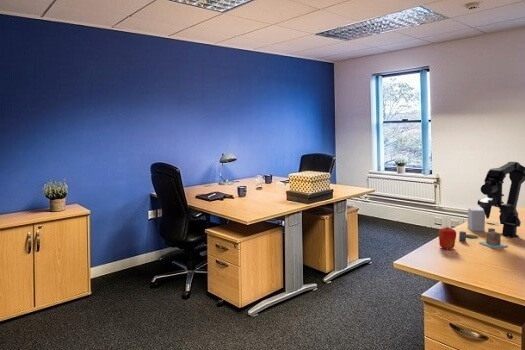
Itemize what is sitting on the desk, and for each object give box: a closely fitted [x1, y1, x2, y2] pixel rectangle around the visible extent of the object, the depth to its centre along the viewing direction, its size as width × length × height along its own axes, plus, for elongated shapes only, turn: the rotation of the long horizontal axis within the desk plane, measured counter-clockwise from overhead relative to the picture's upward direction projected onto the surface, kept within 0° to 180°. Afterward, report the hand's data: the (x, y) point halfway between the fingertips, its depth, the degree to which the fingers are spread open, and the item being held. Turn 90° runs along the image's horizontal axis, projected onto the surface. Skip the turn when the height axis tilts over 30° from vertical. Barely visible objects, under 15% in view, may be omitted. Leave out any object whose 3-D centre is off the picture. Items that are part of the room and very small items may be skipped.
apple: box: [437, 226, 457, 250], centre depth 195 cm, size 9×8×12 cm
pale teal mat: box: [478, 241, 508, 249], centre depth 198 cm, size 9×9×1 cm
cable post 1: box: [458, 230, 467, 243], centre depth 207 cm, size 3×3×5 cm
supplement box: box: [467, 207, 486, 232], centre depth 227 cm, size 7×7×13 cm
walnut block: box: [485, 231, 502, 246], centre depth 198 cm, size 4×4×6 cm
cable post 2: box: [487, 227, 496, 232], centre depth 211 cm, size 3×3×5 cm
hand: (494, 220), depth 203 cm, fingers open, 9 cm apart
